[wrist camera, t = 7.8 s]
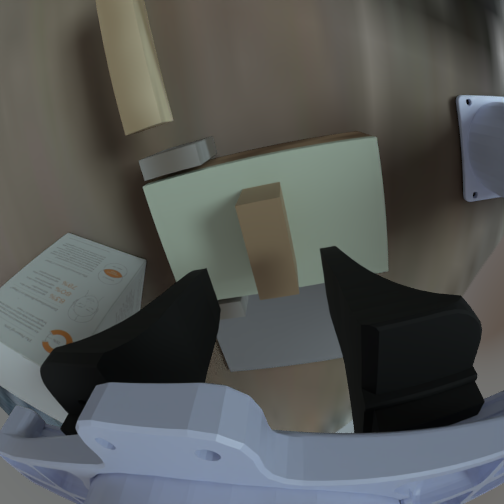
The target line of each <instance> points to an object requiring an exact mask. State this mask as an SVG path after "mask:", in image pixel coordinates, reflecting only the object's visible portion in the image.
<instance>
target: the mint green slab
mask: <svg viewBox="0 0 504 504" xmlns="http://www.w3.org/2000/svg"><path fill="white" fill-rule="evenodd" d="M143 190H144V193H145V196H146V199H147V202H148V205H149V208H150V211H151V214H152V217H153V220H154V223H155V226H156V228H157V231H158V234H159V237H160V240H161V242H162V245H163V248H164V251H165V253H166V256H167V259H168V261H169V264H170V267H171V269H172V272H173V275H174V277H175V280H176V282H177V281H179V280H180V279H181V278H182V277H184V276H185V275H186V274H188V273H189V272H191V271H193V270H199V269H205V268H207V271H208V274H209V277H210V279H211V282H212V285H213V288H214V291H215V294H216V297H217V300H220V299H227V298H234V297H241V296H247V295H254V294H258V295H259V298H260V300H265V299H272V298H278V297H284V296H291V295H297V294H299V287H304V286H310V285H316V284H321V283H325V282H324V275H323V268H322V261H321V254H320V248H325V247H331V246H336V247H338V248H339V249H340V250H341V251H343V252H344V253H345V254H346V255H348V256H349V257H350V258H351V259H353V260H354V261H356V262H357V263H358V264H360V265H361V266H363V267H365V268H366V269H368V270H370V271H371V272H373V273H375V274H376V273H381V272H386V271H388V243H387V226H386V212H385V200H384V190H383V180H382V172H381V164H380V156H379V149H378V142H377V137H375V136H367V137H360V138H352V139H345V140H339V141H332V142H326V143H320V144H314V145H308V146H303V147H297V148H292V149H286V150H281V151H276V152H271V153H266V154H262V155H257V156H252V157H248V158H243V159H239V160H234V161H230V162H226V163H222V164H218V165H214V166H210V167H206V168H202V169H198V170H194V171H190V172H186V173H183V174H179V175H175V176H172V177H168V178H165V179H161V180H158V181H154V182H151V183H148V184H146V185H145V186H143Z"/></svg>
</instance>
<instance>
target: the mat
mask: <svg viewBox="0 0 504 504" xmlns="http://www.w3.org/2000/svg"><path fill="white" fill-rule="evenodd" d="M217 340H218V342H219V345H220V347H221V350H222V352H223V354H224V357H225V359H226V362H227V364H228V367H229V369H230V371H243V370H254V369H264V368H273V367H281V366H289V365H297V364H304V363H311V362H317V361H324V360H330V359H336V358H341V357H343V355H342V352H341V348H340V345H339V342H338V339H337V335H336V332H335V329H334V326H333V322H332V319H331V316H330V312H329V307H328V301H327V296H326V290H325V283H321V284H316V285H310V286H304V287H299V294H297V295H291V296H284V297H278V298H272V299H265V300H260V298H259V295H258V294H254V295H249V298H248V304H247V310H246V316H245V317H238V318H230V319H222V320H220V323H219V330H218V334H217Z"/></svg>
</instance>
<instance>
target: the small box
mask: <svg viewBox="0 0 504 504" xmlns="http://www.w3.org/2000/svg"><path fill="white" fill-rule="evenodd" d="M145 269H146V260H145V259H142V258H139V257H136V256H133V255H130V254H127V253H124V252H121V251H119V250H116V249H113V248H110V247H107V246H104V245H102V244H99V243H96V242H93V241H90V240H87V239H85V238H82V237H79V236H76V235H74V234H71V233H67V234H66V235H64V236H63V237H62V238H60V239H59V240H58V241H56V242H55V243H54V244H53V245H51V246H50V247H49V248H47V249H46V250H45V251H44V252H42V253H41V254H40V255H39V256H37V257H36V258H35V259H34V260H32V261H31V262H30V263H29V264H27V265H26V266H25V267H24V268H23V269H21V270H20V271H19V272H18V273H17V274H16V275H14V276H13V277H12V278H11V279H10V280H9V281H8V282H6V283H5V284H4V285H3V286H2V287H1V288H0V386H2V387H3V388H5V389H6V390H8V391H9V392H11V393H12V394H14V395H15V396H17V397H18V398H20V399H22V400H23V401H25V402H26V403H28V404H30V405H31V406H33V407H35V408H37V409H38V410H40V411H42V412H44V413H45V414H47V415H49V416H51V417H53V418H54V419H56V420H58V421H60V422H62V423H63V422H64V421H65V419H66V417H67V415H68V413H67V412H66V411H65V410H64V408H63V407H62V406H61V405H60V404H59V403H58V401H57V400H56V399H55V398H54V397H53V396H52V394H51V393H50V392H49V391H48V389H47V388H46V386H45V385H44V383H43V381H42V378H41V374H40V368H41V365H42V364H43V362H44V361H45V360H46V358H47V357H48V356H49V354H50V353H51V352H52V350H53V349H54V348H56V347H59V346H63V345H66V344H69V343H73V342H76V341H79V340H82V339H85V338H87V337H90V336H92V335H95V334H97V333H100V332H102V331H104V330H106V329H108V328H110V327H112V326H114V325H116V324H118V323H120V322H122V321H123V320H125V319H127V318H129V317H130V316H132V315H133V314H135V313H137V312H138V311H140V308H141V299H142V290H143V283H144V276H145Z"/></svg>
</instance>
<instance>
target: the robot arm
mask: <svg viewBox="0 0 504 504" xmlns="http://www.w3.org/2000/svg"><path fill="white" fill-rule="evenodd" d="M467 99H468V101H469V104H468V105H467V103H466V100H467ZM456 106H457V113H458V121H459V129H460V139H461V151H462V167H463V197H464V199H465V200H466V201H468V202H473V201H479V200H485V199H491V198H498V197H503V198H504V97H499V96H476V95H459V96H457V98H456ZM474 192H475V196H474V197H473V193H474ZM320 254H321V261H322V268H323V275H324V282H325V290H326V296H327V301H328V307H329V312H330V316H331V319H332V322H333V326H334V329H335V332H336V335H337V339H338V342H339V345H340V348H341V352H342V355H343V359H344V363H345V369H346V375H347V381H348V387H349V394H350V401H351V408H352V416H353V424H354V433H313V432H295V431H282V430H272V429H271V428H270V427H269V425H268V423H267V421H266V418H265V416H264V413H263V410H262V409H261V408H260V407H259V406H258V405H257V404H256V403H255V401H254V400H253V399H252V398H251V397H250V396H249V395H247V394H245V393H242V392H240V391H238V390H236V389H233V388H231V387H229V386H227V385H219V384H210V383H205V380H206V375H207V371H208V367H209V363H210V360H211V356H212V352H213V349H214V345H215V341H216V338H217V334H218V330H219V323H220V313H221V308H220V305H219V303H218V300H217V297H216V294H215V291H214V288H213V285H212V282H211V279H210V277H209V274H208V271H207V268H205V269H199V270H193V271H191V272H189V273H188V274H186V275H185V276H184V277H182V278H181V279H180V280H179V281H177V282H176V283H175V284H174V285H172V286H171V287H170V288H169V289H167V290H166V291H165V292H164V293H163V294H161V295H160V296H159V297H157V298H156V299H155V300H153V301H152V302H151V303H149V304H148V305H147V306H145V307H144V308H143V309H141V310H140V311H138V312H137V313H135V314H133V315H132V316H130V317H129V318H127V319H125V320H123V321H122V322H120V323H118V324H116V325H114V326H112V327H110V328H108V329H106V330H104V331H102V332H100V333H97V334H95V335H92V336H90V337H87V338H85V339H82V340H79V341H76V342H73V343H69V344H66V345H63V346H59V347H56V348H54V349H53V350H52V352H51V353H50V354H49V356H48V357H47V358H46V360H45V361H44V362H43V364H42V365H41V368H40V374H41V378H42V381H43V383H44V385H45V386H46V388H47V389H48V391H49V392H50V393H51V394H52V396H53V397H54V398H55V399H56V400H57V401H58V403H59V404H60V405H61V406H62V407H63V408H64V410H65V411H66V412H67V413H68V415H67V417H66V419H65V421H64V422H63V424H62V426H61V427H57V426H53V425H49V424H46V423H45V421H44V420H43V419H42V418H41V417H40V416H39V415H38V414H37V413H36V412H35V411H33V410H31V409H29V408H25V407H22V406H18V405H16V406H15V408H14V409H13V411H12V412H11V414H10V416H9V417H8V419H7V420H6V422H5V424H4V425H3V427H2V429H1V430H0V456H1V457H2V458H3V459H4V460H5V461H6V462H8V463H9V464H10V465H11V466H12V467H14V468H15V469H16V470H17V471H18V472H20V473H21V474H22V475H23V476H25V477H26V478H28V479H29V480H30V481H31V482H33V483H35V484H37V485H39V486H41V487H43V488H45V489H47V490H49V491H51V492H53V493H55V494H57V495H59V496H61V497H63V498H66V499H68V500H70V501H72V502H74V503H76V504H464V503H466V502H468V501H470V500H472V499H474V498H476V497H478V496H480V495H482V494H484V493H486V492H488V491H490V490H492V489H493V488H495V487H497V486H499V485H501V484H502V483H504V391H501V392H499V393H497V394H495V395H493V396H490V397H488V398H485V399H483V397H482V395H481V393H480V391H479V389H478V387H477V385H476V383H475V380H476V379H477V373H476V371H475V369H474V367H473V363H474V359H475V356H476V353H477V350H478V347H479V343H480V340H481V333H482V327H481V323H480V320H479V319H478V317H477V316H476V314H475V313H474V311H473V310H472V309H471V307H470V306H469V305H468V304H467V302H466V301H465V300H464V299H463V298H462V297H461V296H459V295H449V294H438V293H432V292H427V291H422V290H417V289H414V288H410V287H407V286H404V285H401V284H397V283H395V282H392V281H390V280H388V279H385V278H383V277H381V276H379V275H377V274H375V273H373V272H371V271H370V270H368V269H366V268H365V267H363V266H361V265H360V264H358V263H357V262H356V261H354V260H353V259H351V258H350V257H349V256H348V255H346V254H345V253H344V252H343V251H341V250H340V249H339V248H338V247H336V246H331V247H325V248H320Z"/></svg>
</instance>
